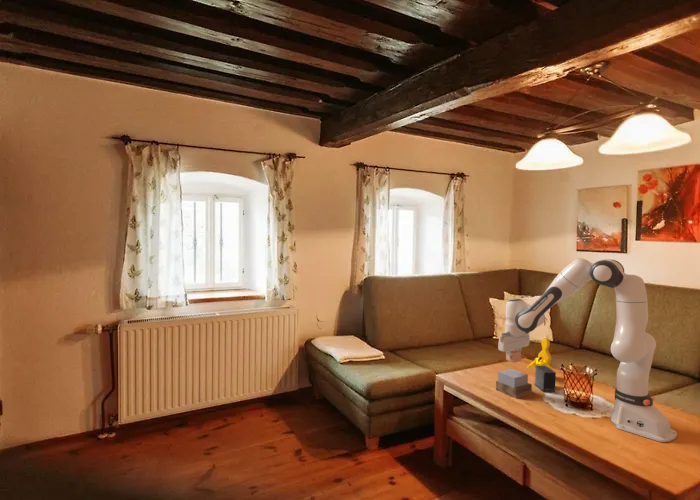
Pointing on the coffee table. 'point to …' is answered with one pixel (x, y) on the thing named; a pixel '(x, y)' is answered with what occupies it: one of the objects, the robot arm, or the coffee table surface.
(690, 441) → the coffee table surface
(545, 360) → the figure statuette
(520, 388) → the tower base slab
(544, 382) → the small box
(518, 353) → the terracotta cube
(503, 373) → the tower top block
